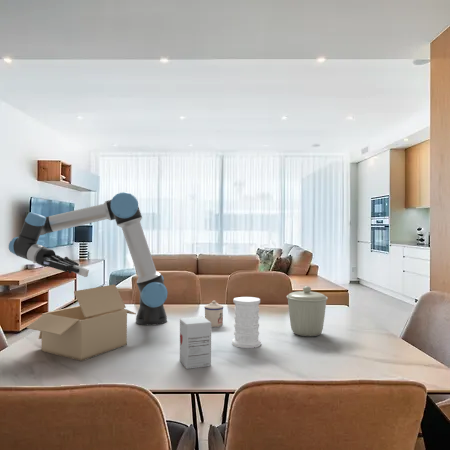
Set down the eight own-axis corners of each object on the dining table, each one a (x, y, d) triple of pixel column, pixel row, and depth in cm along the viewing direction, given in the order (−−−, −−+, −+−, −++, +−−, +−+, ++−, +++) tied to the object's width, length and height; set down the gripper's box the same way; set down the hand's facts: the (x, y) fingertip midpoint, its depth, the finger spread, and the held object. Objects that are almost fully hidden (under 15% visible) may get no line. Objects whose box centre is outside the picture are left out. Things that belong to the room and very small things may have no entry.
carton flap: (85, 317, 134) (73, 291, 137) (125, 307, 151) (114, 284, 154) (85, 317, 134) (74, 291, 137) (125, 307, 151) (115, 284, 154)
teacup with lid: (221, 327, 179) (221, 302, 179) (202, 327, 180) (202, 302, 181) (225, 321, 191) (225, 298, 191) (207, 321, 192) (207, 297, 192)
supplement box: (178, 360, 134) (179, 318, 135) (203, 357, 138) (203, 316, 138) (186, 369, 126) (186, 324, 126) (211, 366, 129) (211, 321, 129)
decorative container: (256, 349, 147) (256, 302, 148) (228, 346, 151) (228, 300, 152) (264, 341, 158) (264, 297, 158) (237, 338, 162) (237, 295, 162)
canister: (296, 326, 183) (296, 282, 183) (333, 332, 172) (333, 285, 172) (279, 334, 168) (279, 286, 168) (318, 342, 158) (318, 290, 158)
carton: (16, 354, 139) (16, 315, 140) (95, 331, 171) (95, 299, 172) (63, 367, 127) (63, 324, 127) (139, 340, 159) (139, 305, 159)
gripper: (51, 262, 167) (95, 280, 160) (27, 265, 155) (73, 285, 148) (55, 246, 167) (99, 263, 160) (31, 248, 154) (78, 266, 147)
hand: (86, 273), depth 154 cm, fingers closed
